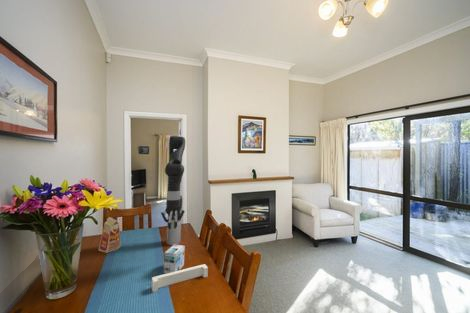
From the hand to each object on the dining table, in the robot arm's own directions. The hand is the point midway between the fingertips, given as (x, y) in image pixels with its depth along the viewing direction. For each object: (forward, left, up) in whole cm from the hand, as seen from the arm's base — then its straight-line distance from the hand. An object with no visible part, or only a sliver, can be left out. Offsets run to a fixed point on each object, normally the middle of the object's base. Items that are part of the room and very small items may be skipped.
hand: (172, 228), depth 113 cm
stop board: (+20, 0, -19) cm, 28 cm away
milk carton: (-34, -30, -19) cm, 49 cm away
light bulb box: (+8, 0, -19) cm, 21 cm away
